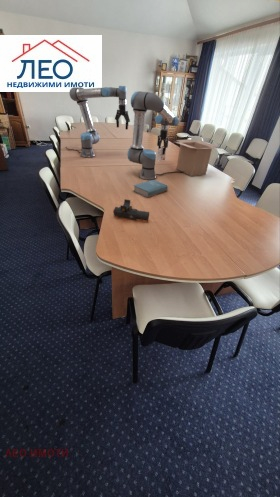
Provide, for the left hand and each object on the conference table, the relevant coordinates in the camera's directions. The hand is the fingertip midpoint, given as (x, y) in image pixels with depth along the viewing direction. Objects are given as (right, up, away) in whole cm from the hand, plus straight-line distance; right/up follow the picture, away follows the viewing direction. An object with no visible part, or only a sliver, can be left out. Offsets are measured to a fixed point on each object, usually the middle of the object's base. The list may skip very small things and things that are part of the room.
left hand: (122, 128), depth 235 cm
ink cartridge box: (+42, -31, +7) cm, 53 cm away
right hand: (+42, -26, +4) cm, 50 cm away
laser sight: (+13, -109, -95) cm, 145 cm away
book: (+28, -82, -57) cm, 104 cm away
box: (+72, -49, -7) cm, 87 cm away
